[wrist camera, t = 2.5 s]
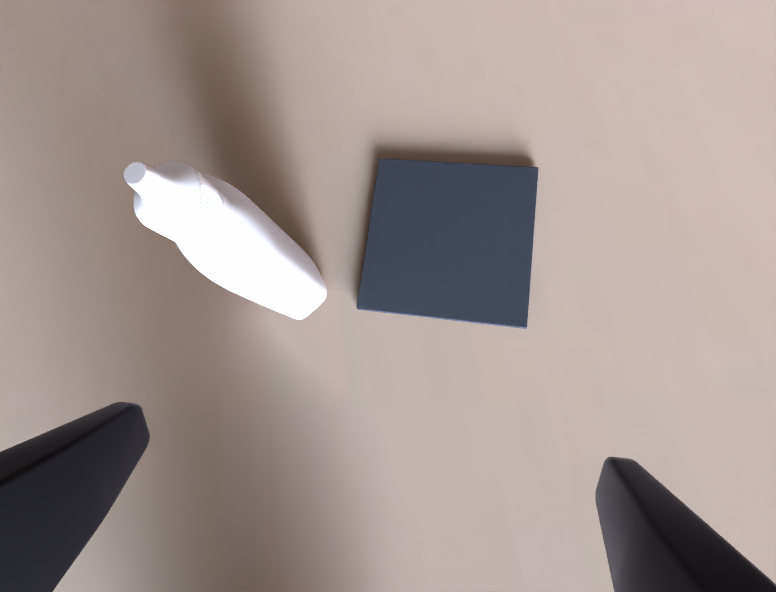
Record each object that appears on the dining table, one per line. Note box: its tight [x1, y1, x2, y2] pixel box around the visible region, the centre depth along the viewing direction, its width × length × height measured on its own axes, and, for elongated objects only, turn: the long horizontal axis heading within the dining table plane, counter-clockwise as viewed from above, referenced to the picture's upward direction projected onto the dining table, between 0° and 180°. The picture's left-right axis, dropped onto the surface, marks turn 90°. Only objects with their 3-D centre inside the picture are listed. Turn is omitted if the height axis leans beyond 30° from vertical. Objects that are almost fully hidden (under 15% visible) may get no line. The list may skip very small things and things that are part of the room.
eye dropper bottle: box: [124, 161, 327, 319], centre depth 18 cm, size 4×6×12 cm
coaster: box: [357, 159, 538, 329], centre depth 22 cm, size 9×9×1 cm
